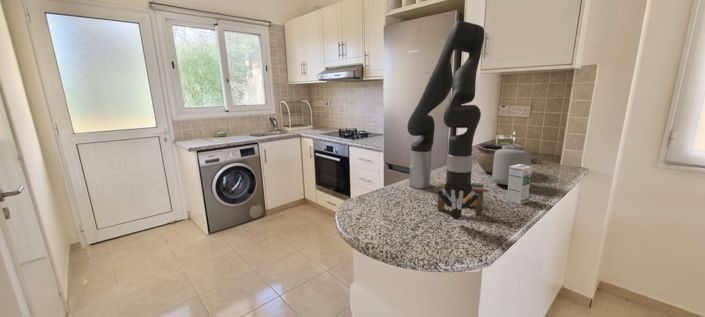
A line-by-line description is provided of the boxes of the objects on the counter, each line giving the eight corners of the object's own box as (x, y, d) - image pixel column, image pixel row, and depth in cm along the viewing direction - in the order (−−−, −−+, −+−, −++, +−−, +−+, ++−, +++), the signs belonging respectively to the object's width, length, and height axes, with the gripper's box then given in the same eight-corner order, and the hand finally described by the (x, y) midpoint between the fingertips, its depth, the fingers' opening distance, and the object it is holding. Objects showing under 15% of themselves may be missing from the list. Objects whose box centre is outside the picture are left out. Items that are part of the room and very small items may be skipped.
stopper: (449, 187, 136) (450, 181, 135) (450, 185, 137) (450, 180, 137) (482, 190, 130) (483, 185, 129) (483, 189, 132) (483, 183, 131)
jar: (494, 177, 148) (498, 128, 143) (528, 181, 141) (533, 129, 135) (489, 188, 132) (494, 133, 127) (527, 193, 125) (533, 135, 120)
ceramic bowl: (522, 170, 160) (524, 143, 157) (519, 180, 142) (522, 150, 139) (478, 166, 172) (480, 140, 169) (471, 175, 154) (473, 147, 151)
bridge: (481, 216, 103) (483, 190, 101) (437, 210, 109) (438, 185, 107) (481, 213, 105) (483, 188, 103) (439, 207, 112) (440, 183, 110)
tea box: (494, 156, 196) (495, 134, 193) (511, 157, 192) (513, 135, 189) (495, 161, 182) (497, 137, 179) (513, 162, 179) (515, 138, 175)
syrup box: (520, 204, 113) (524, 168, 109) (506, 200, 118) (509, 165, 115) (529, 202, 115) (533, 166, 112) (515, 197, 120) (518, 163, 117)
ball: (461, 194, 110) (463, 186, 115) (460, 207, 113) (463, 199, 117) (478, 197, 107) (480, 188, 112) (477, 210, 110) (479, 202, 115)
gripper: (482, 167, 94) (478, 217, 98) (439, 164, 99) (437, 211, 103) (481, 173, 87) (477, 226, 91) (435, 169, 93) (433, 220, 97)
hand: (456, 218), depth 97 cm, fingers closed
